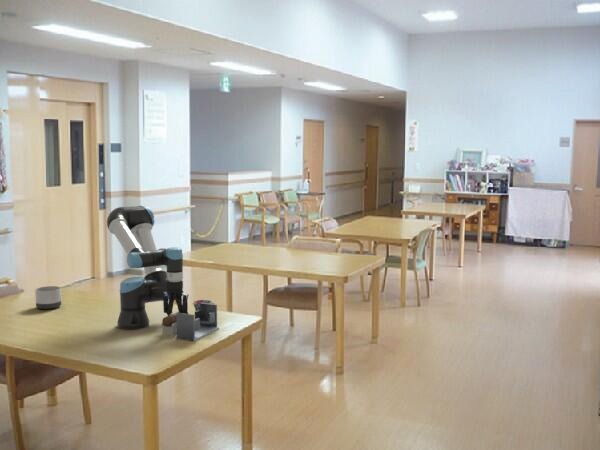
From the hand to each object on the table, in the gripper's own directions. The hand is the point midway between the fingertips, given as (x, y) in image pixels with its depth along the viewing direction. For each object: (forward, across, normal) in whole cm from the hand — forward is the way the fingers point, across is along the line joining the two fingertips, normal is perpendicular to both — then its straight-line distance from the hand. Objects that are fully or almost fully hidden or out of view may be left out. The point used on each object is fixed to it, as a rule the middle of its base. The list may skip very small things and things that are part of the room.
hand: (175, 328), depth 300 cm
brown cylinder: (-3, 0, 0) cm, 3 cm away
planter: (+1, -88, +9) cm, 88 cm away
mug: (+1, +5, +18) cm, 19 cm away
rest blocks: (+1, 0, 0) cm, 1 cm away
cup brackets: (+1, +12, 0) cm, 12 cm away
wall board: (+1, +12, 0) cm, 12 cm away
